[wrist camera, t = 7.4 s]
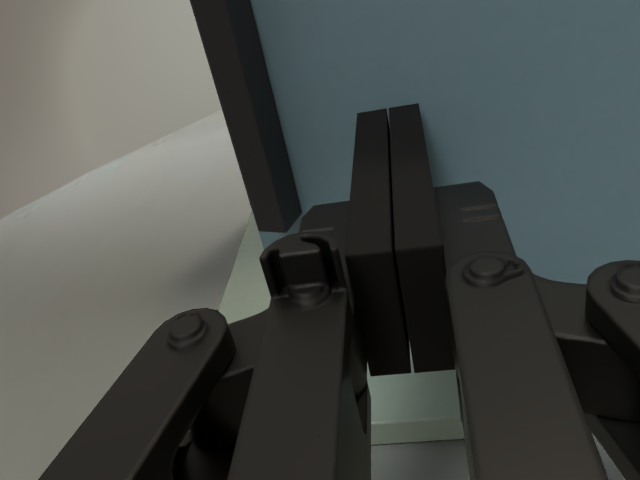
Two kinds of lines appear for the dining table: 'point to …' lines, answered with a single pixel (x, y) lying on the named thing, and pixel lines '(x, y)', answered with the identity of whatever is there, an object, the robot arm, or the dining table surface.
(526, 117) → the shower door
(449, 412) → the shower
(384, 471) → the dining table surface
